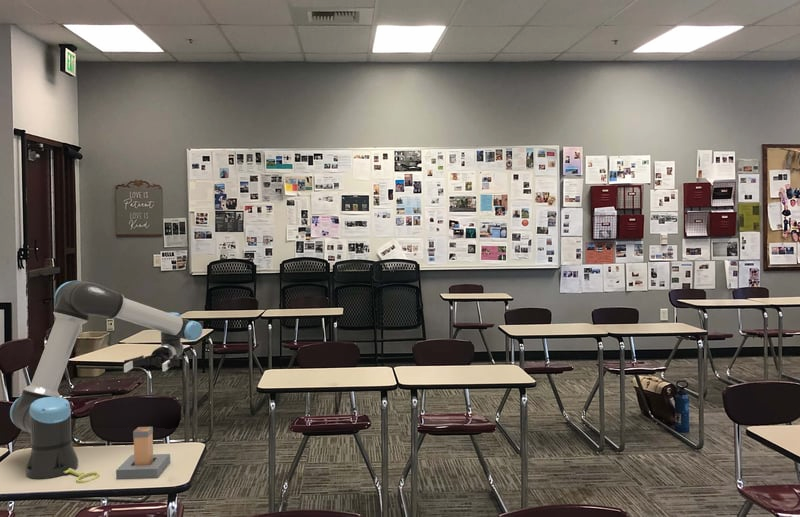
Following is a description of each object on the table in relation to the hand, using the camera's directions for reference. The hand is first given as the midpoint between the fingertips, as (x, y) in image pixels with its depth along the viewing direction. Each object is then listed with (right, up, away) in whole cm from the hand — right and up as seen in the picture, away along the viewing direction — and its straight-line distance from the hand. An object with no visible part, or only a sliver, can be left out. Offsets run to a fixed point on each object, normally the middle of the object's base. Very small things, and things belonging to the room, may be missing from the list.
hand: (144, 368), depth 221 cm
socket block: (+7, -31, -18) cm, 36 cm away
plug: (+7, -31, -18) cm, 36 cm away
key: (-11, -32, -22) cm, 41 cm away
